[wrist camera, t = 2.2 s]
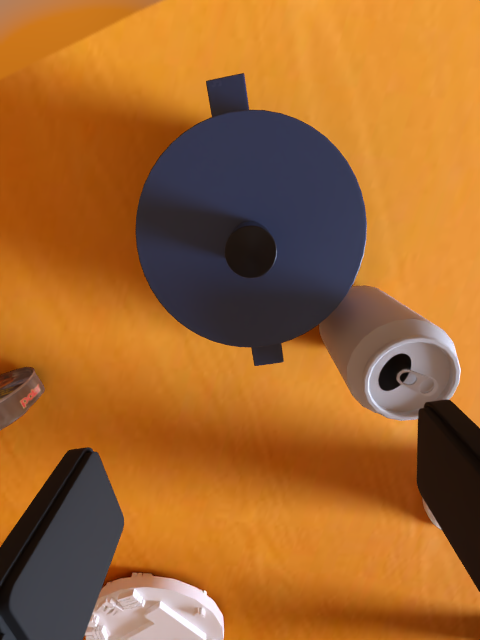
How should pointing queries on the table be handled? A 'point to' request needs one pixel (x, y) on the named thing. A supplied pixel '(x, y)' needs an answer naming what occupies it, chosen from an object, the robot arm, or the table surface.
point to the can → (389, 354)
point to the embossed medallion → (154, 611)
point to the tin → (18, 394)
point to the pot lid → (251, 228)
